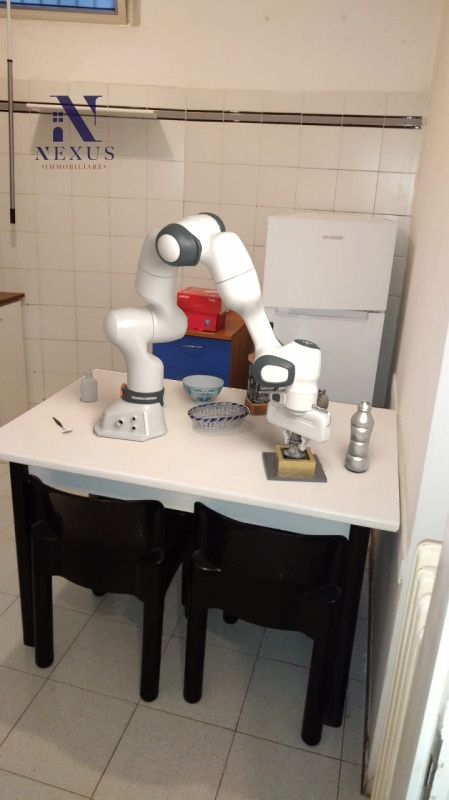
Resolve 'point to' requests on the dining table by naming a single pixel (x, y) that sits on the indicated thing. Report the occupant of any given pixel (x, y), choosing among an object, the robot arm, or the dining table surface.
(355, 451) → the plastic bottle
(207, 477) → the dining table surface
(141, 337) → the robot arm
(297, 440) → the salt shaker
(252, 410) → the whiskey bottle
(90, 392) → the eye dropper bottle
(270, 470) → the collar plate
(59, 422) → the razor
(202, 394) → the chinaware
